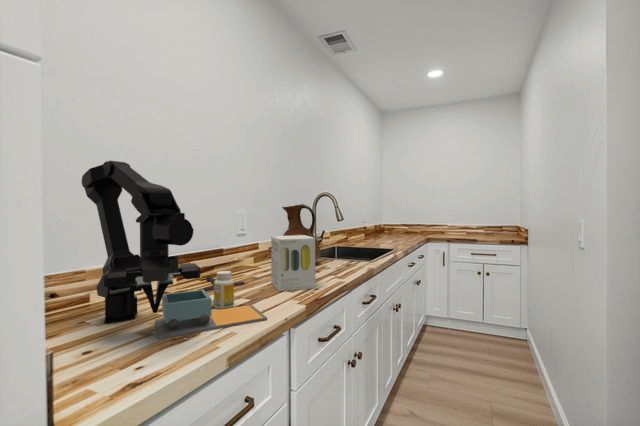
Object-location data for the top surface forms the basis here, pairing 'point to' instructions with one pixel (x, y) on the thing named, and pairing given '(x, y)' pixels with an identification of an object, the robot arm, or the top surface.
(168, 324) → the box
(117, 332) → the top surface
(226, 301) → the supplement bottle
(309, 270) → the supplement box
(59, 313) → the top surface
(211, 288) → the bracket
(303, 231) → the ceramic pitcher
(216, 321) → the track
